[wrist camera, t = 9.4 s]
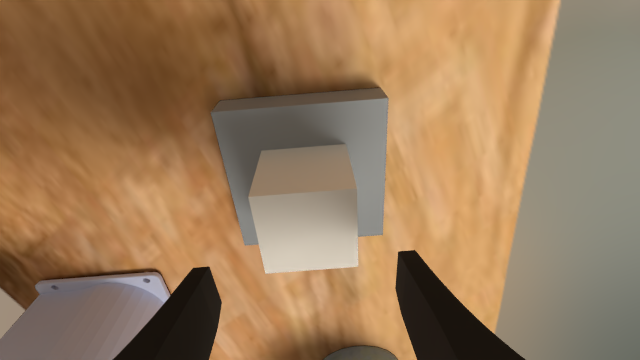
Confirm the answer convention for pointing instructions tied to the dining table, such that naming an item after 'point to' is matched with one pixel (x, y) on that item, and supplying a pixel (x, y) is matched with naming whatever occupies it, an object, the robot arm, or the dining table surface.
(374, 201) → the stud block
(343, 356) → the teal cup
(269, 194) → the cream colored cube
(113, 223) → the dining table surface
